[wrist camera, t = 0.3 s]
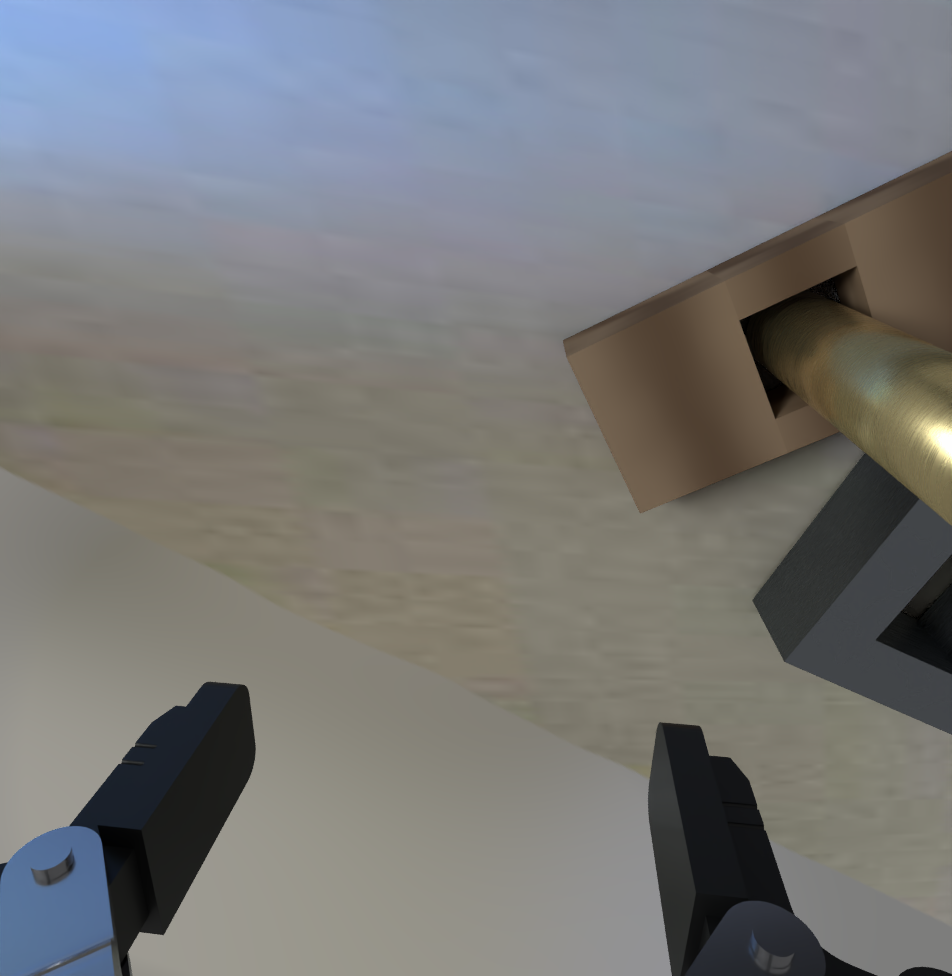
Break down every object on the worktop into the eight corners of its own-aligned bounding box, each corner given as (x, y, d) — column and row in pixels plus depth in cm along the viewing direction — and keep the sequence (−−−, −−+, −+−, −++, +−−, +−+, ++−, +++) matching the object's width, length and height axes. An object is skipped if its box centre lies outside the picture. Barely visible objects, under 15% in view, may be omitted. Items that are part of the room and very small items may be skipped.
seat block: (890, 420, 32) (949, 462, 28) (1082, 515, 34) (1169, 570, 29) (752, 600, 37) (784, 661, 32) (926, 677, 38) (981, 747, 33)
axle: (777, 273, 30) (1016, 376, 15) (849, 310, 30) (1146, 444, 16) (730, 349, 31) (907, 508, 17) (798, 383, 32) (1029, 566, 17)
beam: (631, 485, 34) (640, 513, 32) (562, 340, 32) (566, 356, 29) (1026, 319, 30) (1076, 334, 27) (987, 133, 27) (1039, 130, 24)
